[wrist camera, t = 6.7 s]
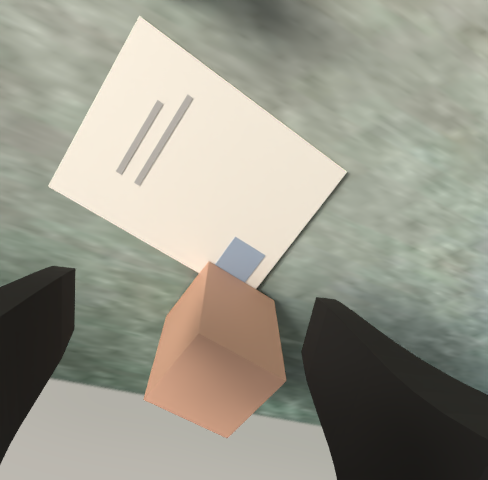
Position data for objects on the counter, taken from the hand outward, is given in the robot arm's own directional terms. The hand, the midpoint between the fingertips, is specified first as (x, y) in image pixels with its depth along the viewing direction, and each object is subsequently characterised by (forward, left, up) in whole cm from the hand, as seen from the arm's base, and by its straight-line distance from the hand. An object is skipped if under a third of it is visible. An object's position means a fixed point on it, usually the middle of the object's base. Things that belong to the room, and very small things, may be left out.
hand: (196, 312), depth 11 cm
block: (+4, -4, -9) cm, 11 cm away
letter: (-1, +2, -9) cm, 10 cm away
